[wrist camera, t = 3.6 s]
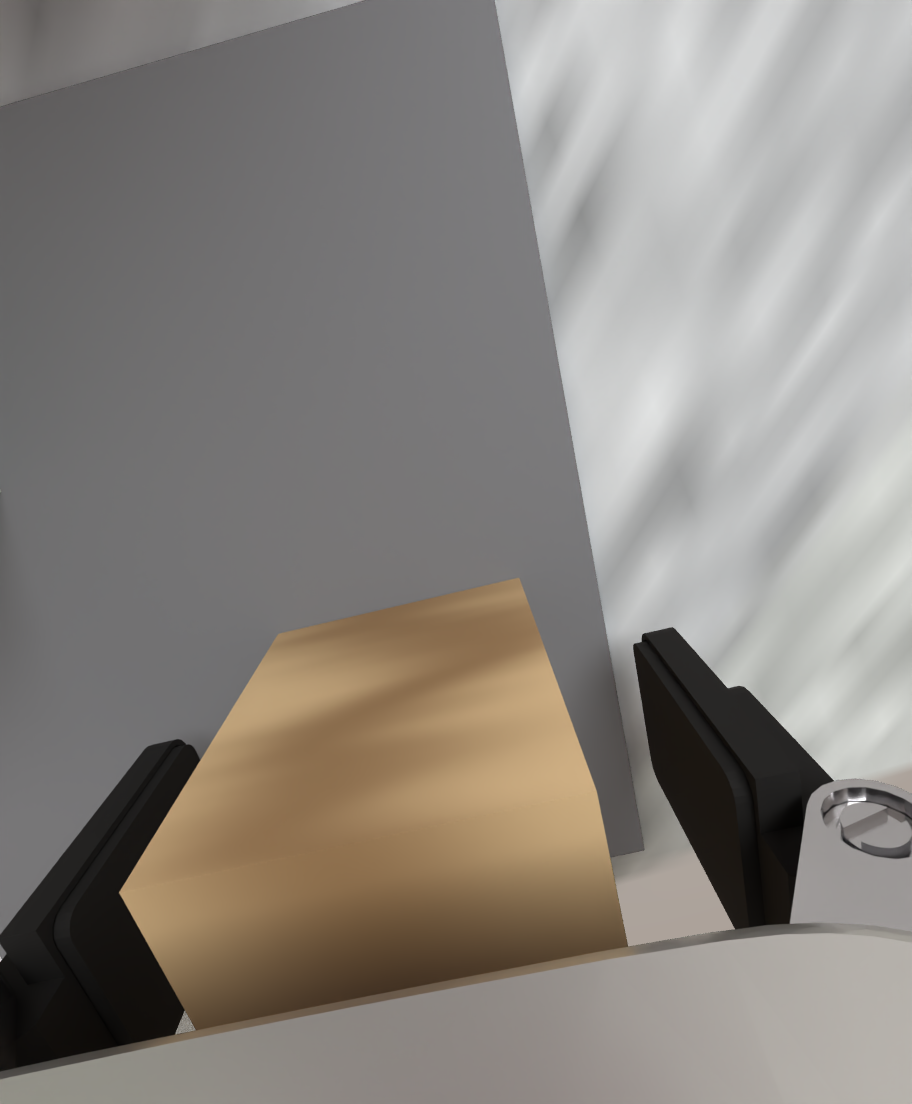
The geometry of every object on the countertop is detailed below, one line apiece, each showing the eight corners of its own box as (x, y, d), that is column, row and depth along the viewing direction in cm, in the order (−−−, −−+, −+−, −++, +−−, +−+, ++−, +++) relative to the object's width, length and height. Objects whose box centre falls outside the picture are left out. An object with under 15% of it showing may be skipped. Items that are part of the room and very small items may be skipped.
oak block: (519, 577, 11) (596, 791, 6) (564, 779, 13) (661, 1108, 7) (277, 633, 12) (118, 892, 6) (350, 825, 13) (278, 1179, 7)
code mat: (486, -27, 9) (488, -37, 8) (641, 843, 14) (644, 850, 14) (-461, 248, 9) (-482, 246, 9) (21, 971, 15) (15, 980, 14)
